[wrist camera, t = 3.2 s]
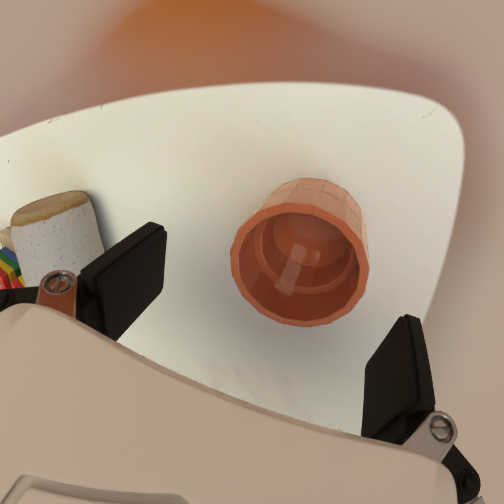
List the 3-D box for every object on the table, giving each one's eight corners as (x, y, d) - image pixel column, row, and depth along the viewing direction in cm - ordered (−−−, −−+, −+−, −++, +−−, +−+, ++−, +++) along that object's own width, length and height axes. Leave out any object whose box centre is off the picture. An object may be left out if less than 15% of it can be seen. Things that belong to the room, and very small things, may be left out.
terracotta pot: (385, 236, 16) (395, 284, 11) (307, 290, 19) (292, 344, 14) (315, 153, 15) (300, 171, 11) (241, 221, 18) (205, 259, 14)
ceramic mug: (107, 181, 20) (23, 220, 13) (131, 278, 23) (68, 333, 17) (40, 191, 23) (-21, 222, 17) (62, 265, 27) (10, 303, 20)
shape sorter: (7, 225, 28) (-27, 245, 23) (90, 272, 25) (46, 307, 20) (35, 322, 37) (10, 343, 32) (113, 377, 34) (87, 407, 29)
